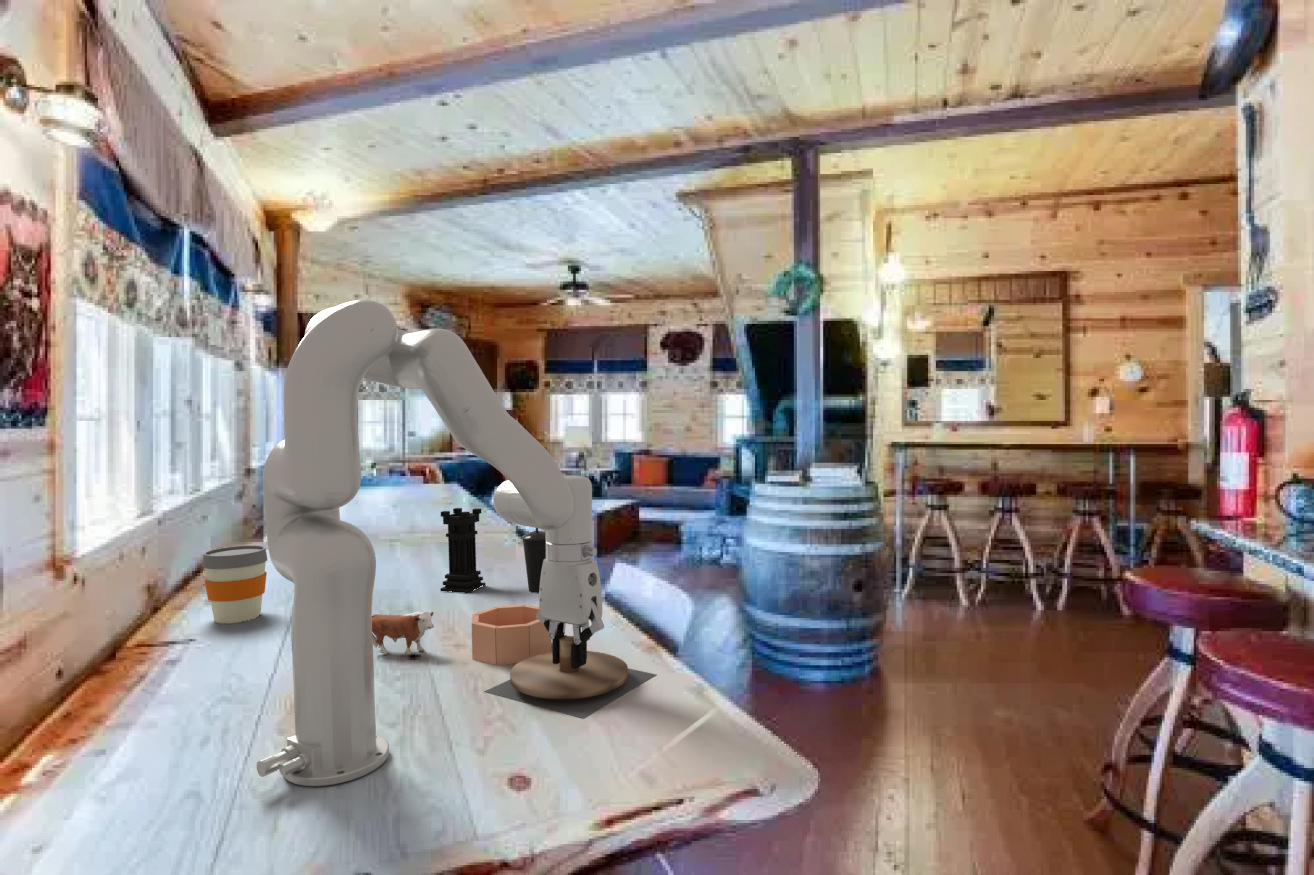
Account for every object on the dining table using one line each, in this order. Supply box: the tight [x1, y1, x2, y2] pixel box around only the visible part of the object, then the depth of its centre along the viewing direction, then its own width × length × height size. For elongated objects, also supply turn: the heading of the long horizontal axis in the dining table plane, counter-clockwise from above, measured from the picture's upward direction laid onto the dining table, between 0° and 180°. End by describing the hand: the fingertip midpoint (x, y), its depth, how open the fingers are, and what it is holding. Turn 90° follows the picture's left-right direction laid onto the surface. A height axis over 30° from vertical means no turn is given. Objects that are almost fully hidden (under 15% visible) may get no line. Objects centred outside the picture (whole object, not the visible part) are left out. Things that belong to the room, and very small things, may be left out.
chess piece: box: [440, 507, 486, 594], centre depth 186 cm, size 8×8×20 cm
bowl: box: [471, 604, 552, 666], centre depth 137 cm, size 14×14×7 cm
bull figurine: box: [372, 610, 435, 656], centre depth 138 cm, size 4×13×8 cm, turn 78°
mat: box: [483, 668, 658, 720], centre depth 120 cm, size 20×20×1 cm
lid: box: [509, 635, 628, 699], centre depth 120 cm, size 19×19×6 cm
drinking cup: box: [521, 528, 546, 593], centre depth 183 cm, size 8×8×20 cm
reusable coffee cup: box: [201, 544, 268, 624], centre depth 163 cm, size 13×13×15 cm
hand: (569, 662), depth 120 cm, fingers closed on lid, 3 cm apart
